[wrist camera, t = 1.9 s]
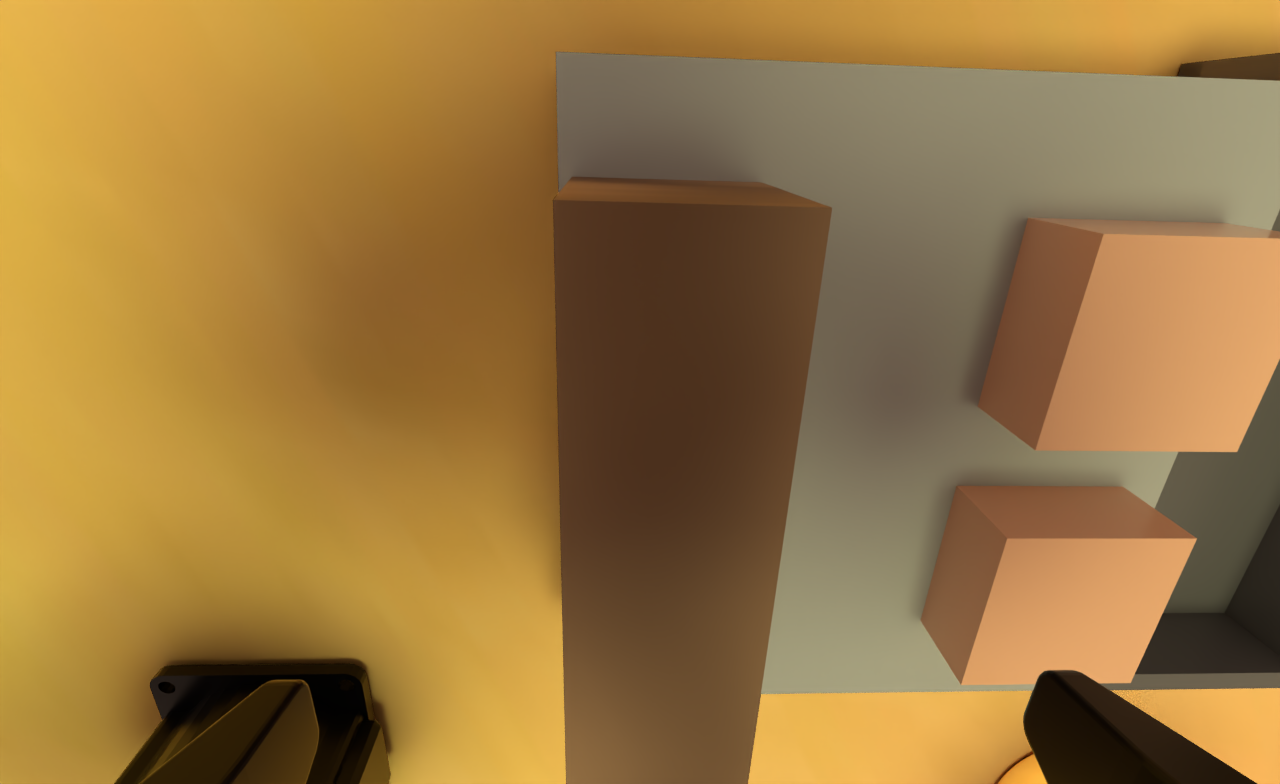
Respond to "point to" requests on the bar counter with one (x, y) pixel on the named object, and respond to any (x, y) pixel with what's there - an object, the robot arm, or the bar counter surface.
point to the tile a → (1051, 582)
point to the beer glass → (1024, 773)
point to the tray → (1224, 533)
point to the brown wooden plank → (676, 462)
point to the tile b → (1136, 335)
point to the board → (917, 286)
